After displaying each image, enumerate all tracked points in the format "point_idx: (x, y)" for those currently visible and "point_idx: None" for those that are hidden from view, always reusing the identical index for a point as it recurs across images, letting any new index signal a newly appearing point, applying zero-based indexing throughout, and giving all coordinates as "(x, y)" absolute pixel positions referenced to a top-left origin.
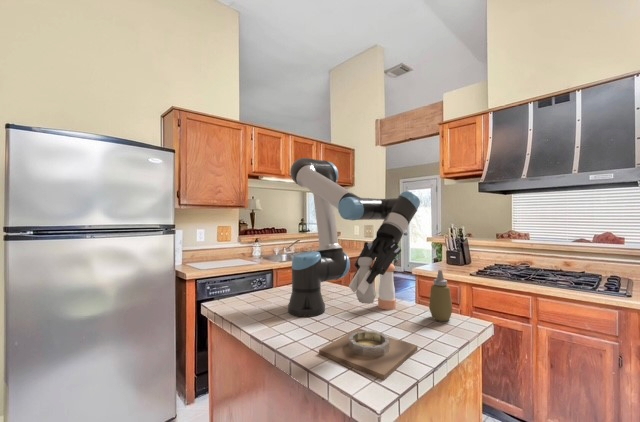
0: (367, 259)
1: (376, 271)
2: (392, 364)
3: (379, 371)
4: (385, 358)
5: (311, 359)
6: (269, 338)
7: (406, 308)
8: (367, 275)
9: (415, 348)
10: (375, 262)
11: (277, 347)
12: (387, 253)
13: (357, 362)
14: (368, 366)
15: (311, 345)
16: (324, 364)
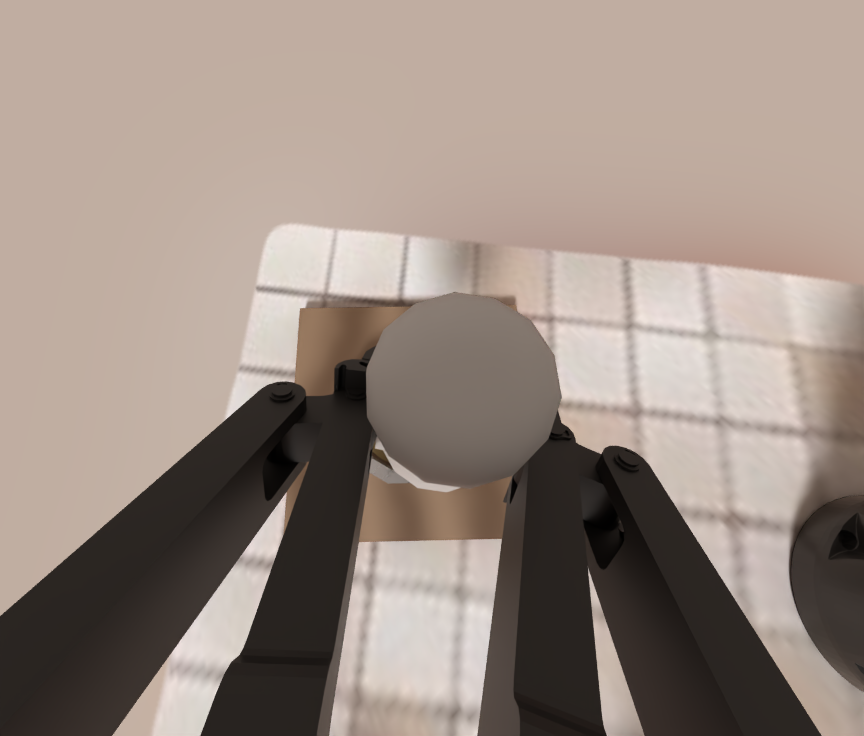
0: (392, 328)
1: (321, 399)
2: (303, 367)
3: (317, 315)
4: (333, 384)
5: (507, 276)
6: (702, 287)
7: None
8: None
9: (286, 523)
10: (344, 455)
11: (630, 264)
12: (91, 607)
13: (385, 315)
14: (351, 317)
15: (571, 336)
16: (463, 279)
